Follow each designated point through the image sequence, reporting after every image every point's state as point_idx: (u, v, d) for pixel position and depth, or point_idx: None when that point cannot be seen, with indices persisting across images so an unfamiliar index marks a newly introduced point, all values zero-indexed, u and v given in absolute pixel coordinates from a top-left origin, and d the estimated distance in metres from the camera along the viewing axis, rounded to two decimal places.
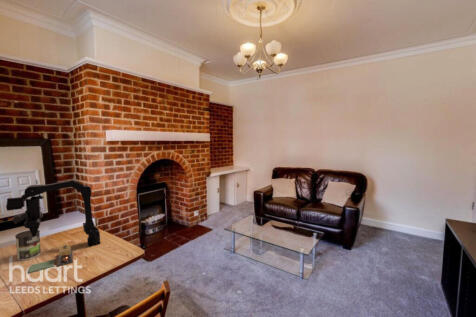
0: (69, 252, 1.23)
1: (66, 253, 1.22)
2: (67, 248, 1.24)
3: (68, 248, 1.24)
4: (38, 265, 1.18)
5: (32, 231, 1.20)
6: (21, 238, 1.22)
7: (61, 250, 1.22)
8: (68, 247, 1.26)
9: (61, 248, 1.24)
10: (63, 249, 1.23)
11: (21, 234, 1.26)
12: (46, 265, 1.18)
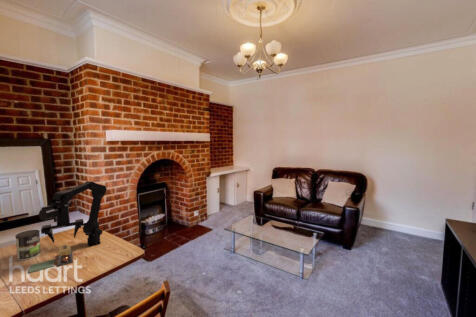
0: (69, 252, 1.23)
1: (66, 253, 1.22)
2: (67, 248, 1.24)
3: (68, 248, 1.24)
4: (38, 265, 1.18)
5: None
6: (21, 238, 1.22)
7: (61, 250, 1.22)
8: (68, 247, 1.26)
9: (61, 248, 1.24)
10: (63, 249, 1.23)
11: (21, 234, 1.26)
12: (46, 265, 1.18)
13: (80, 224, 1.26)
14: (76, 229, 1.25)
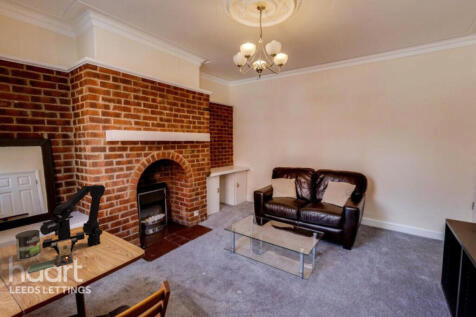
0: (69, 252, 1.23)
1: (66, 253, 1.22)
2: (67, 248, 1.24)
3: (68, 248, 1.24)
4: (38, 265, 1.18)
5: None
6: (21, 238, 1.22)
7: (61, 250, 1.22)
8: (68, 247, 1.26)
9: (61, 248, 1.24)
10: (63, 249, 1.23)
11: (21, 234, 1.26)
12: (46, 265, 1.18)
13: (81, 237, 1.26)
14: (73, 243, 1.25)
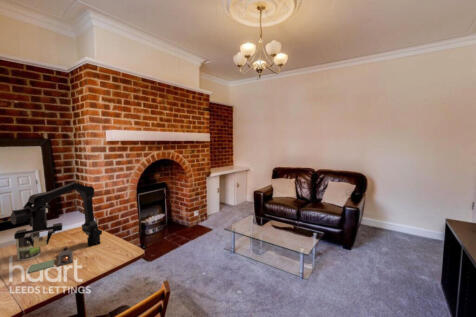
0: (45, 244, 1.15)
1: (41, 245, 1.14)
2: (43, 240, 1.16)
3: (44, 240, 1.16)
4: (38, 265, 1.18)
5: None
6: (21, 238, 1.22)
7: (36, 242, 1.14)
8: (44, 239, 1.18)
9: (36, 240, 1.16)
10: (38, 241, 1.15)
11: None
12: (46, 265, 1.18)
13: (58, 228, 1.18)
14: (49, 235, 1.17)
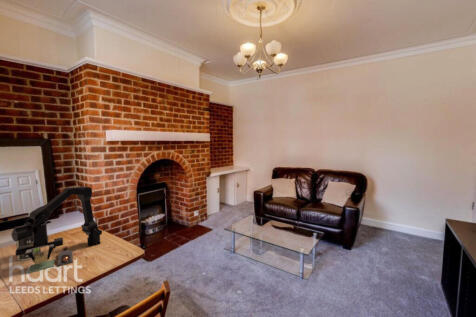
0: (46, 259, 1.16)
1: (42, 260, 1.15)
2: (44, 255, 1.17)
3: (45, 255, 1.17)
4: (38, 265, 1.18)
5: None
6: None
7: (37, 257, 1.15)
8: (45, 254, 1.18)
9: (37, 255, 1.17)
10: (39, 256, 1.16)
11: None
12: (46, 265, 1.18)
13: (59, 244, 1.19)
14: (50, 250, 1.17)
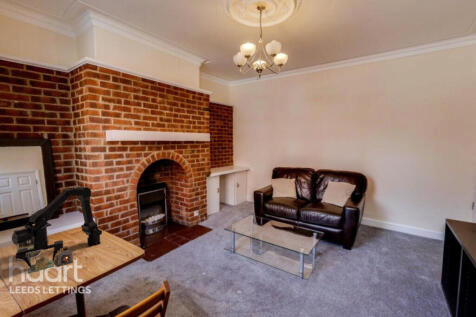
0: (46, 265, 1.16)
1: (43, 266, 1.15)
2: (44, 261, 1.17)
3: (45, 261, 1.17)
4: None
5: None
6: None
7: (37, 263, 1.15)
8: (45, 259, 1.19)
9: (38, 261, 1.17)
10: (40, 262, 1.16)
11: None
12: None
13: (59, 246, 1.19)
14: (55, 252, 1.19)
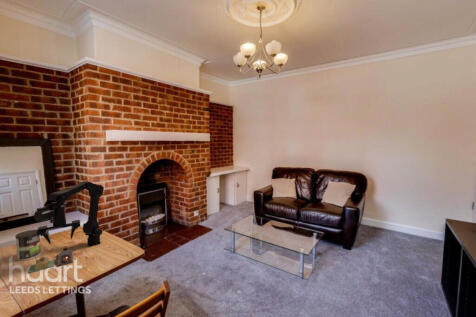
0: (46, 265, 1.16)
1: (43, 266, 1.15)
2: (44, 261, 1.17)
3: (45, 261, 1.17)
4: None
5: None
6: (21, 238, 1.22)
7: (37, 263, 1.15)
8: (45, 259, 1.19)
9: (38, 261, 1.17)
10: (40, 262, 1.16)
11: (21, 234, 1.26)
12: None
13: (77, 225, 1.23)
14: (73, 230, 1.23)
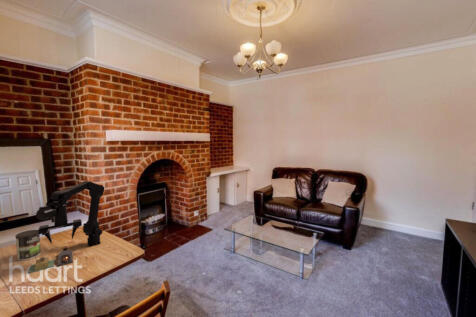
0: (46, 265, 1.16)
1: (43, 266, 1.15)
2: (44, 261, 1.17)
3: (45, 261, 1.17)
4: None
5: (48, 237, 1.19)
6: (21, 238, 1.22)
7: (37, 263, 1.15)
8: (45, 259, 1.19)
9: (38, 261, 1.17)
10: (40, 262, 1.16)
11: (21, 234, 1.26)
12: None
13: (78, 224, 1.24)
14: (74, 229, 1.23)
